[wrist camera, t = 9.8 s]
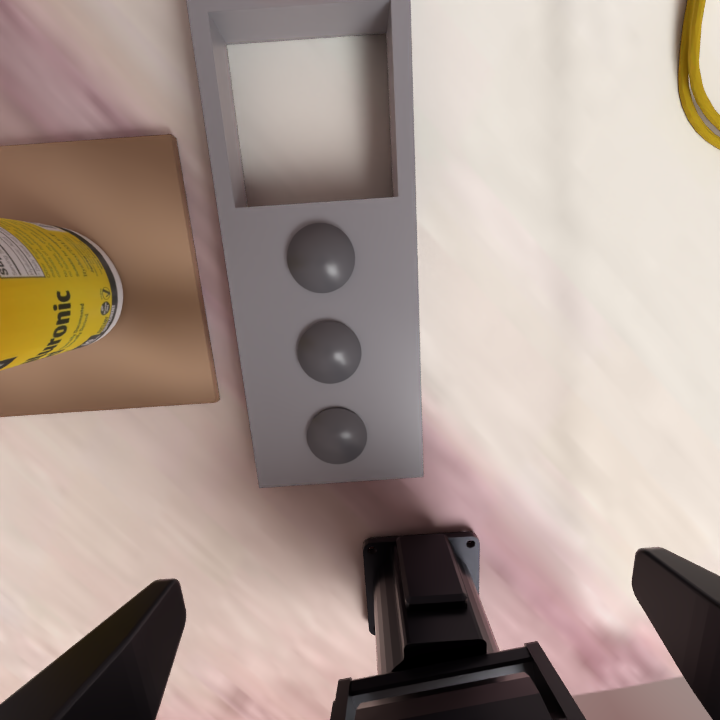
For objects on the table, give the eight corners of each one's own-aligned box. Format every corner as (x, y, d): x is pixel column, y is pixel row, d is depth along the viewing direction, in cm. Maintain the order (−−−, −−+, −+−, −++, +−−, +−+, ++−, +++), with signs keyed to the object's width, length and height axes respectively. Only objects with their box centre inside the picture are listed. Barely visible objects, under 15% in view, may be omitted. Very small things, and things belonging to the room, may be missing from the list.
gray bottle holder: (416, 456, 20) (425, 483, 17) (268, 466, 20) (256, 495, 17) (400, -50, 15) (410, -116, 12) (198, -35, 15) (165, -99, 12)
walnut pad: (219, 399, 19) (216, 402, 18) (-14, 414, 19) (-23, 418, 18) (176, 138, 16) (170, 134, 16) (-99, 157, 16) (-114, 153, 16)
